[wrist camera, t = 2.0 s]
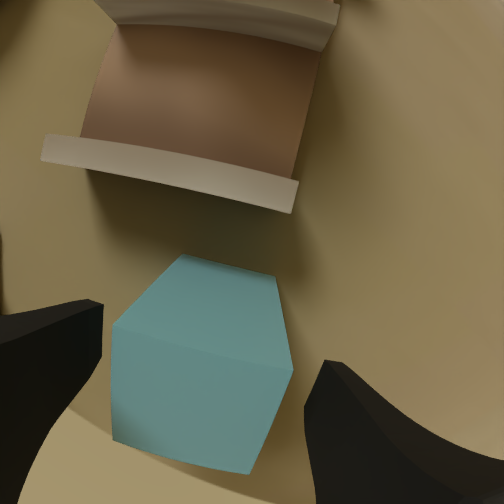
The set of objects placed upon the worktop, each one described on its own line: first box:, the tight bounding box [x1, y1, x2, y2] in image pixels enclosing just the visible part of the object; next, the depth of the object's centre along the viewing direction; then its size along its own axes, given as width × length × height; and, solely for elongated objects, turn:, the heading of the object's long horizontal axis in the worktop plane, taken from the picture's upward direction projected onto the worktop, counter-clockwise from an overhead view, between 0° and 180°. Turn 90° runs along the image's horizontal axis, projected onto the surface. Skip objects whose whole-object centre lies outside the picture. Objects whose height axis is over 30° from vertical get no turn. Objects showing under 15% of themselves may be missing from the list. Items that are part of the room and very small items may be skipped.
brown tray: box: [40, 0, 340, 214], centre depth 9 cm, size 14×9×3 cm, turn 166°
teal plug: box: [111, 254, 293, 475], centre depth 10 cm, size 4×4×7 cm
